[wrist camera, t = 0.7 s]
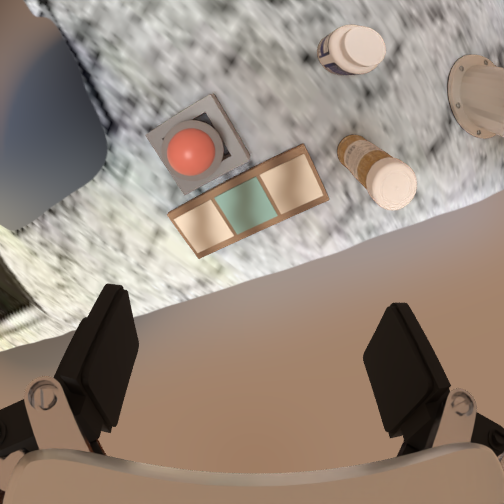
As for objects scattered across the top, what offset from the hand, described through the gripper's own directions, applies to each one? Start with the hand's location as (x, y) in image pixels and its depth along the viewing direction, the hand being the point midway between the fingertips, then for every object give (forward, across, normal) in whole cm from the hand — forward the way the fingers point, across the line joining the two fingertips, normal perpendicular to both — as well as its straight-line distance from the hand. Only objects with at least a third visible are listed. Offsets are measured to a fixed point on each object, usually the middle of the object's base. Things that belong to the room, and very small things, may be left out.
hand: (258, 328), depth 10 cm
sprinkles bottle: (+28, -13, -2) cm, 31 cm away
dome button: (+27, +6, 0) cm, 28 cm away
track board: (+29, 0, +7) cm, 30 cm away
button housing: (+29, +6, 0) cm, 30 cm away
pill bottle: (+28, -9, -14) cm, 33 cm away
